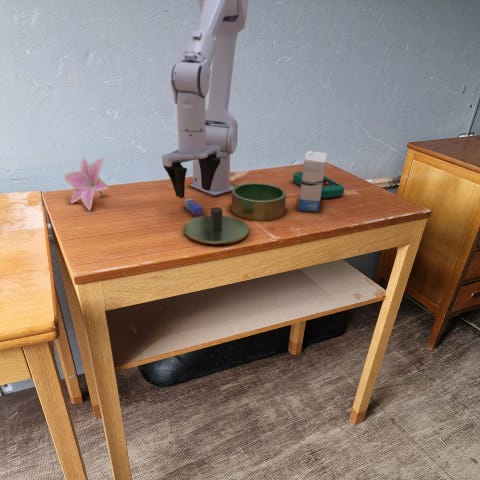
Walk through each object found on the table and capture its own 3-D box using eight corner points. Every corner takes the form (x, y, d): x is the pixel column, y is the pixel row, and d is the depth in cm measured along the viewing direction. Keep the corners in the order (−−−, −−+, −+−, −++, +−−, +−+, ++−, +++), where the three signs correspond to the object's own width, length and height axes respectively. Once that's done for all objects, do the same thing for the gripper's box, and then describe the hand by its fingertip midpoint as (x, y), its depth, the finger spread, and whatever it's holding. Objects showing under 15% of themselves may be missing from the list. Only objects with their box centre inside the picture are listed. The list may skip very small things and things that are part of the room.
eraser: (192, 206, 104) (192, 198, 103) (202, 215, 100) (202, 207, 99) (185, 207, 104) (184, 198, 103) (193, 216, 99) (193, 208, 98)
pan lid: (170, 231, 93) (169, 207, 90) (218, 215, 101) (218, 193, 98) (214, 253, 85) (214, 228, 82) (261, 234, 93) (263, 211, 90)
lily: (67, 198, 109) (47, 169, 100) (109, 174, 111) (92, 143, 102) (87, 228, 104) (68, 200, 95) (130, 202, 105) (115, 172, 97)
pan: (220, 208, 104) (220, 190, 101) (256, 196, 111) (257, 179, 109) (258, 225, 97) (260, 205, 94) (294, 211, 104) (296, 193, 102)
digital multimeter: (320, 200, 111) (321, 189, 109) (291, 181, 122) (292, 171, 120) (344, 197, 113) (346, 186, 112) (314, 179, 124) (315, 168, 123)
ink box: (318, 212, 104) (326, 161, 97) (297, 210, 105) (303, 159, 98) (320, 200, 111) (327, 151, 104) (300, 198, 111) (306, 149, 105)
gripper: (176, 137, 85) (179, 205, 93) (230, 127, 94) (228, 190, 101) (154, 130, 89) (158, 196, 97) (208, 121, 98) (208, 183, 105)
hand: (193, 193), depth 99 cm, fingers open, 7 cm apart
